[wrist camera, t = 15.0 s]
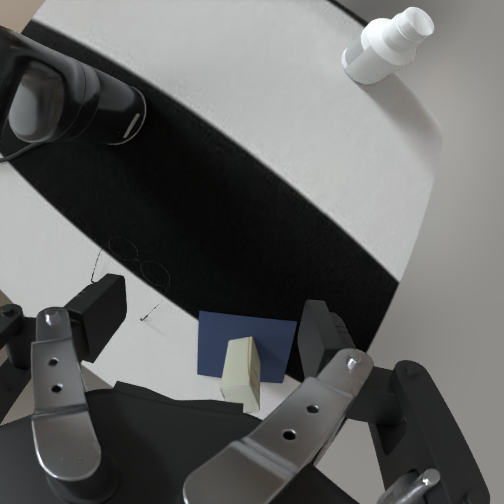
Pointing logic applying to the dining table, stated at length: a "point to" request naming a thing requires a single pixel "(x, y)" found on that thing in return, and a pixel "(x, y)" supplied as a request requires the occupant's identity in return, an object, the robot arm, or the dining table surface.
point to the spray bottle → (386, 46)
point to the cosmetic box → (242, 374)
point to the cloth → (235, 327)
